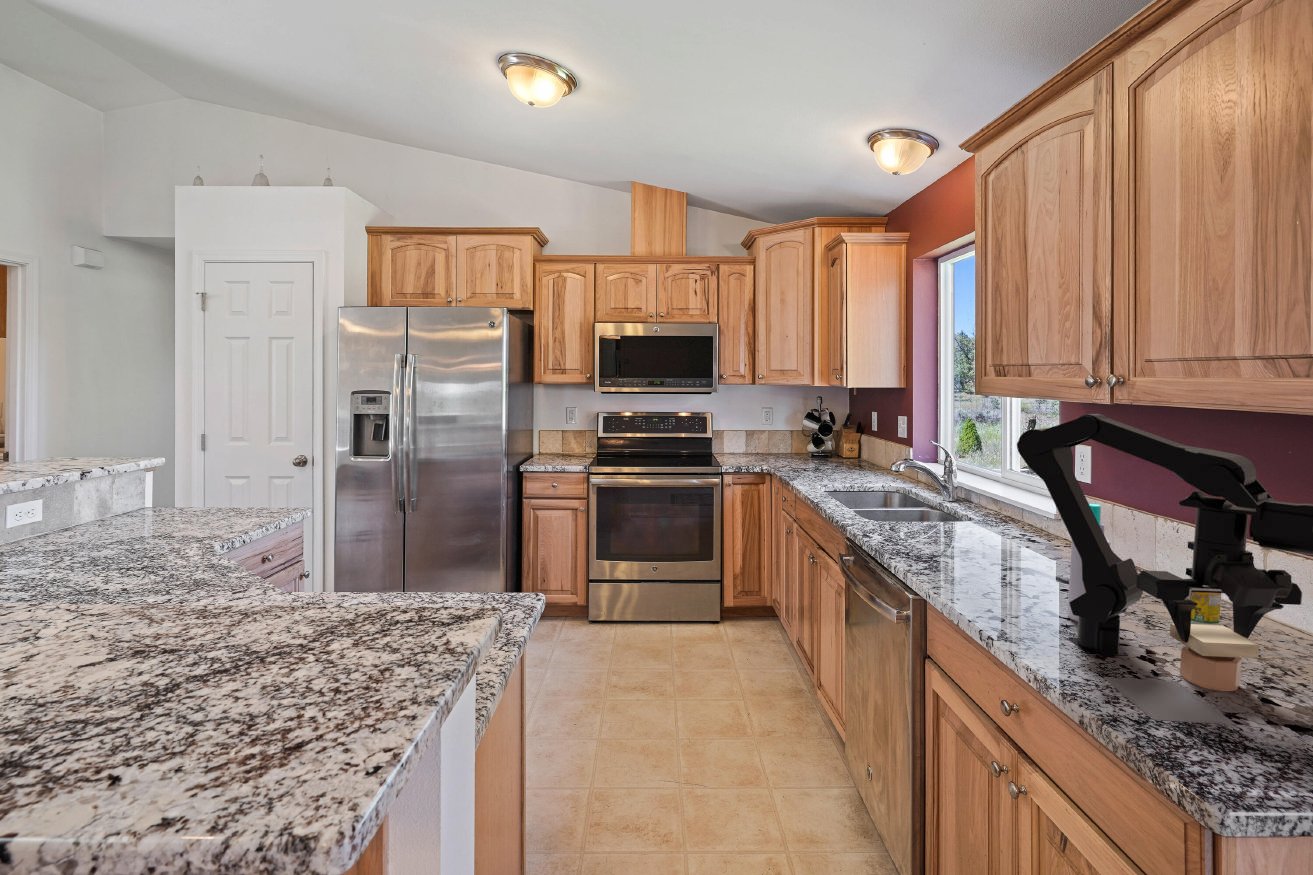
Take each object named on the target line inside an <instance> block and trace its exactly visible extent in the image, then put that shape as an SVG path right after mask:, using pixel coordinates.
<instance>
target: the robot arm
mask: <svg viewBox="0 0 1313 875" xmlns="http://www.w3.org/2000/svg"><path fill="white" fill-rule="evenodd" d="M1089 441H1093V442H1097V443H1100V444H1102V445H1105V446H1108V447H1110V448H1112V449H1115V450H1117V451H1121V452H1123V453H1125V454H1129V455H1131V456H1134V457H1137V458H1138V459H1141V460H1144V461H1146V462H1150V463H1152V464H1155V465H1157V466H1160V467H1162V468H1165V469H1166V470H1168V471H1170V472H1171V473H1173V474H1174V475H1176V476H1177V477H1178V478H1179V479H1181V480H1182V481H1183V482H1186V483H1187V484H1189V485H1191V486H1192V487H1194V488H1195V489H1197V490H1194V491H1192V492H1191V494H1189V496H1187V497H1185V498H1184V499H1182V500H1180V501H1179V502H1178V504H1179V506H1180V507H1187V508H1189V507H1190V508H1194V509H1195V508H1196V514H1195V525H1194V526H1195V527H1194V529H1195V530H1194V537H1193V538H1194V540H1193V541H1187V549H1189V550H1192V551H1193V552H1192V553H1193V554H1192V564H1191V565H1192V566H1191V567H1185V575H1186V576H1188V577H1189V576H1190V577H1191V579H1190V578H1182V577H1180V576H1177V575H1176V574H1174V573H1171V572H1170V571H1168V570H1141V572H1140V573H1138V571H1137V568H1136V566H1135V562H1134V560H1133V558H1131V557H1129V558H1127V559H1125V560H1122V558H1121V557H1119V556H1118V555H1117V553H1115V552H1114V551H1113V550H1112V548H1111V545H1110V546H1109V544H1108V542H1107V540H1108V539H1107V538H1106V536H1105V533H1104V534H1103V532H1102V530H1101V528H1100V526H1099V524H1098V522H1097V520H1096V517H1095V515H1094V513H1093V511H1092V509H1091V507H1090V505H1089V504H1090V503H1089V502H1088V499H1087V497H1086V495H1085V493H1084V491H1083V489H1082V487H1081V485H1080V483H1079V481H1078V479H1077V477H1076V475H1075V473H1074V455H1073V451H1072V448H1073V447H1076V446H1078V445H1081V444H1083V443H1086V442H1089ZM1016 448H1017V452H1018V453H1019V455H1020V457H1021V458H1022V460H1024V462H1025V464H1026V466H1027V467H1028V468H1029V469H1030V470H1031V471H1032V472H1033V473H1034V474H1036V476H1038V478H1040V480H1042V481H1043V482H1044V485H1045V487H1046V489H1047V490H1048V493H1049V495H1050V497H1051V499H1052V501H1053V503H1054V505H1055V508H1056V509H1057V511H1058V514H1059V516H1060V518H1061V520H1062V522H1063V523H1064V526H1065V529H1066V530H1067V532H1068V535H1069V537H1070V538H1071V540H1072V541H1073V543H1074V545H1075V547H1076V549H1077V551H1078V553H1079V556H1080V558H1081V561H1082V581H1083V584H1084V588H1085V591H1086V593H1084V594H1083V595H1081V596H1079V597H1077V598H1076V599H1074V600H1072V601H1071V602H1070V603H1069V604H1070V607H1071V610H1072V613H1073V615H1076V616H1079V619H1078V622H1077V623H1078V624H1077V636H1076V637H1071V636H1070V637H1068V638H1067V641H1068V642H1071V643H1072V644H1073V645H1075V646H1076V647H1077V648H1078V649H1079V650H1081V651H1082V652H1083V653H1085V654H1088V655H1101V656H1102V655H1103V656H1122V657H1128V656H1129V653H1127V652H1126V651H1125V650H1123V649H1122V648H1121V647H1119V646H1120V629H1121V628H1120V627H1121V615H1120V614H1124V613H1126V612H1127V610H1128V608H1129V607H1131V606H1133V605H1135V604H1137V603H1138V602H1139V601H1140V600H1141V598H1142V596H1143V594H1144V593H1146V594H1148V595H1150V596H1152V597H1154V598H1155V599H1158V600H1161V601H1162V603H1163V605H1164V606H1165V608H1166V609H1167V612H1168V614H1169V616H1170V617H1171V620H1172V622H1173V623H1174V625H1175V627H1176V629H1177V632H1178V634H1179V636H1180V639H1181V640H1182V641H1183V642H1185V643H1188V639H1189V635H1190V630H1191V612H1192V610H1193V609H1194V608H1195V607H1196V606H1197V604H1198V603H1196V602H1194V601H1192V600H1190V598H1191V592H1202V593H1221V594H1224V595H1225V596H1227V597H1228V600H1229V601H1230V602H1231V603H1232V620H1233V624H1232V625H1233V631H1234V632H1235V633H1237V634H1239V635H1241V636H1243V637H1245V638H1247V639H1249V637H1250V636H1251V634H1252V633H1253V631H1254V630H1255V628H1256V626H1257V625H1258V623H1259V622H1260V621H1261V619H1262V618H1263V617H1264V616H1265V615H1266V614H1268V613H1271V612H1273V611H1276V610H1282V609H1283V608H1284V605H1291V606H1292V605H1293V606H1295V605H1297V606H1301V605H1302V602H1303V591H1302V590H1301V588H1300V586H1299V585H1298V584H1297V583H1295V582H1293V581H1292V575H1291V574H1290V573H1288V572H1287V571H1286V570H1284V569H1268V570H1266V569H1259V568H1257V567H1256V566H1255V563H1254V560H1255V557H1254V556H1253V552H1251V551H1249V550H1247V548H1246V547H1247V536H1248V533H1249V537H1250V539H1252V541H1253V542H1254V543H1255V542H1257V543H1258V546H1259V547H1260V548H1267V549H1272V550H1277V551H1278V550H1279V551H1282V552H1283V551H1284V552H1290V553H1297V554H1304V555H1308V556H1309V555H1310V556H1313V503H1296V502H1295V503H1294V502H1287V501H1277V500H1274V498H1273V496H1272V495H1271V494H1270V493H1269V491H1268V490H1267V489H1266V488H1265V487H1264V485H1263V484H1262V483H1261V482H1260V481H1259V480H1258V478H1257V470H1256V468H1255V466H1254V464H1253V462H1252V461H1251V460H1250V459H1249V458H1247V457H1245V456H1243V455H1240V454H1236V453H1231V452H1226V451H1222V450H1216V449H1210V448H1203V447H1197V446H1196V447H1195V446H1190V445H1185V444H1182V443H1180V442H1176V441H1173V440H1170V439H1168V438H1166V437H1165V438H1164V437H1162V436H1160V435H1159V436H1158V435H1156V434H1153V433H1151V432H1148V431H1146V430H1142V429H1140V428H1137V427H1133V426H1130V425H1127V424H1125V423H1123V422H1120V421H1117V420H1114V419H1112V418H1109V417H1107V416H1105V415H1104V414H1101V413H1089V414H1084V415H1081V416H1079V417H1077V418H1075V419H1072V420H1069V421H1065V422H1064V423H1060V424H1057V425H1055V426H1051V427H1041V428H1031V429H1028V430H1026V431H1024V432H1023V433H1022V434H1021V435H1020V436H1019V438H1018V441H1017V442H1016ZM1207 495H1209V496H1207ZM1249 516H1250V521H1249ZM1248 525H1249V526H1248ZM1248 527H1249V532H1248ZM1203 585H1206V586H1209V587H1206V586H1203ZM1143 592H1144V593H1143Z"/></svg>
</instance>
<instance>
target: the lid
mask: <svg viewBox="0 0 1313 875" xmlns="http://www.w3.org/2000/svg"><path fill="white" fill-rule="evenodd" d="M1169 637H1171V638H1172V639H1175V640H1176V641H1177V642H1179V643H1181V644H1183V645H1184V646H1185V645H1186V646H1187V647H1189V648H1191V649H1192V650H1194V651H1195V652H1197V653H1199V654H1200V655H1202V656H1220V657H1240V658H1242V659H1243V658H1245V659H1259V653H1260V652H1259V651H1260V644H1259V643H1257V642H1255V641H1253V640H1251V639H1249V638H1248V639H1247V638H1245V637H1243V636H1241V635H1239V634H1237V633H1235V632H1234V630H1232V629H1230V628H1228V627H1226V626H1224V625H1222V624H1219V625H1202V624H1191V630H1190V635H1189V639H1188V643H1185V642H1183V641H1182V640H1181V639H1180V636H1179V634H1178V632H1177V629H1176V627H1175V625H1174V623H1172V622H1171V623H1170V630H1169Z"/></svg>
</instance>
